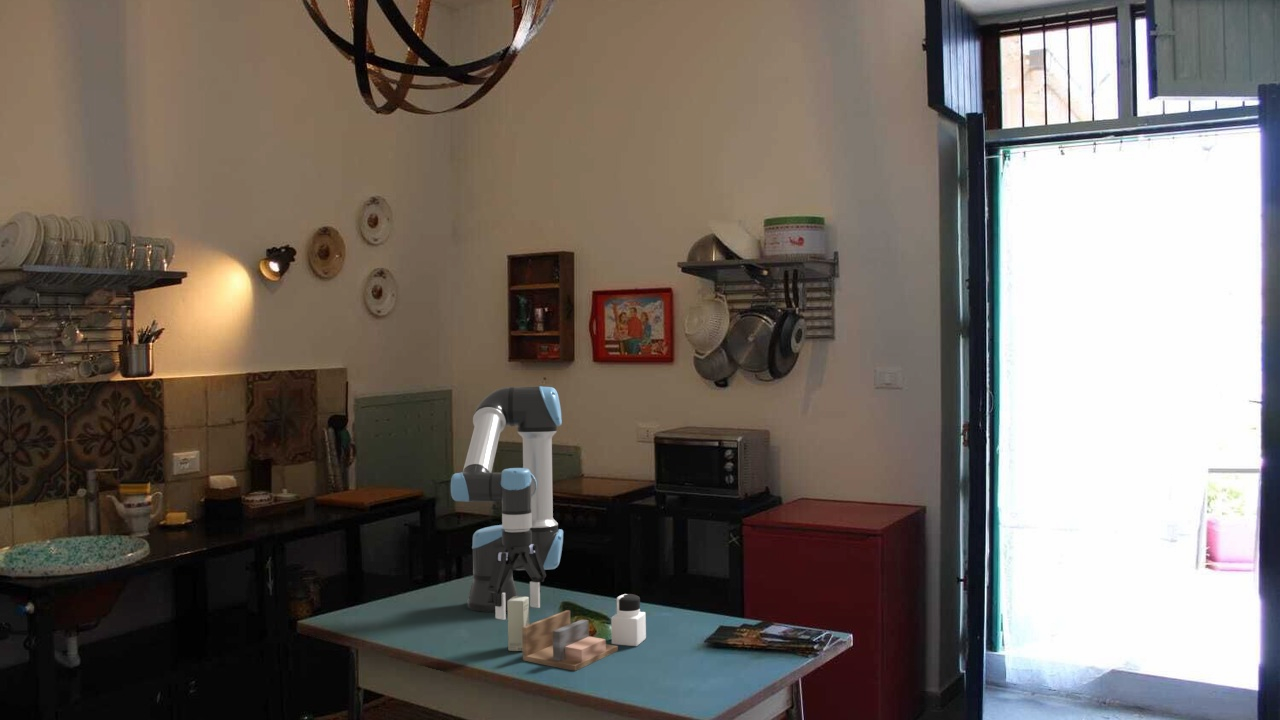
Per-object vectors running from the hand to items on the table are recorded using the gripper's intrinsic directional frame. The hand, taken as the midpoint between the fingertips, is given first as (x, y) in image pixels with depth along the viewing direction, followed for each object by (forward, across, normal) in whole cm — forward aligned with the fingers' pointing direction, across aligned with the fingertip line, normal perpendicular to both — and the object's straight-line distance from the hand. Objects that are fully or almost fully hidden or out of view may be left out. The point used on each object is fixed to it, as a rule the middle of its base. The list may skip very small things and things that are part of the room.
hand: (518, 613), depth 261 cm
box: (+9, 0, 0) cm, 9 cm away
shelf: (+9, -2, +15) cm, 18 cm away
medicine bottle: (+9, -20, +21) cm, 30 cm away
